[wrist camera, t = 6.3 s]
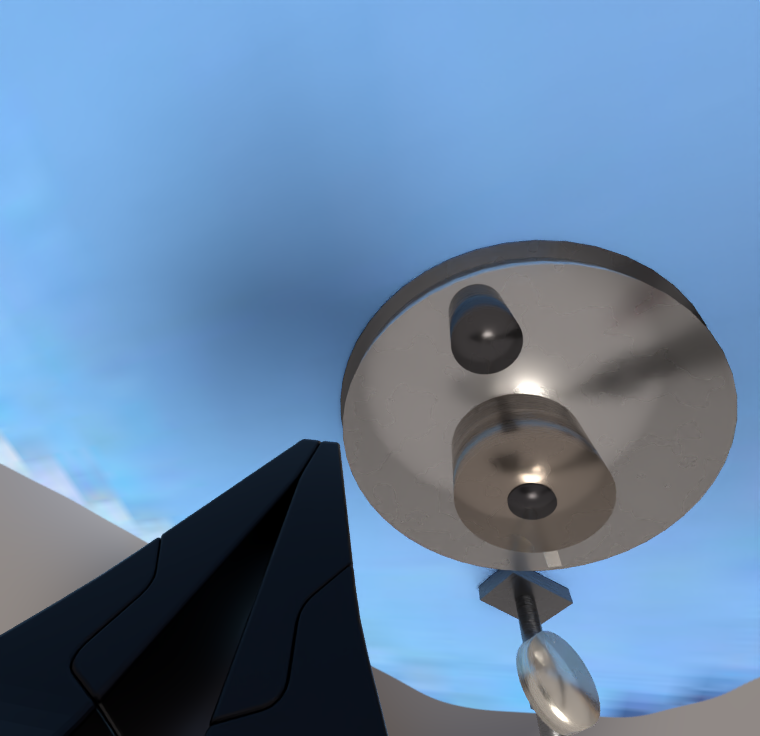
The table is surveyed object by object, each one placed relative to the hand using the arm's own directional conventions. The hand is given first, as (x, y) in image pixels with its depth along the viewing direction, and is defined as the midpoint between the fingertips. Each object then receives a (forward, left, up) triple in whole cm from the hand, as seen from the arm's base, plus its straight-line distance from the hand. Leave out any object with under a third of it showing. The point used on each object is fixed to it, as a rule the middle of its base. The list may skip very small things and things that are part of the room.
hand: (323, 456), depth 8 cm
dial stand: (-19, +14, -12) cm, 26 cm away
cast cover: (-9, +2, -10) cm, 14 cm away
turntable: (-9, +2, -12) cm, 16 cm away
